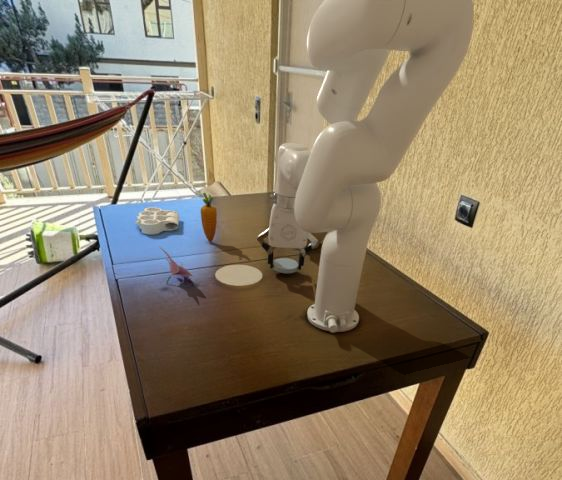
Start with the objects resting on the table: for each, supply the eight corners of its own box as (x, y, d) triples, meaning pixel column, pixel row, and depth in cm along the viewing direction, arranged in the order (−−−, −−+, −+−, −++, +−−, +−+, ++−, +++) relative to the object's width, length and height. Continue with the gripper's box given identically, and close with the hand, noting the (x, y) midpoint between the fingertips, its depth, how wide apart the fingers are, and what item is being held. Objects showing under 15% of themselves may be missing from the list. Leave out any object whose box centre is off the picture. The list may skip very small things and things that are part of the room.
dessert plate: (261, 290, 104) (261, 286, 103) (212, 288, 104) (212, 284, 103) (262, 269, 114) (263, 265, 113) (218, 267, 114) (217, 263, 113)
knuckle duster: (178, 234, 131) (132, 235, 129) (179, 216, 145) (138, 216, 142) (177, 224, 129) (130, 224, 126) (178, 207, 142) (136, 207, 140)
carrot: (219, 244, 127) (217, 195, 117) (204, 246, 125) (201, 196, 115) (216, 238, 130) (213, 190, 120) (201, 240, 128) (197, 191, 119)
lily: (194, 301, 100) (205, 265, 97) (147, 286, 95) (158, 247, 93) (190, 293, 110) (200, 260, 108) (147, 279, 106) (157, 244, 103)
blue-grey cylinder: (298, 275, 107) (299, 270, 106) (272, 273, 107) (272, 268, 106) (297, 264, 113) (298, 258, 112) (272, 262, 112) (272, 257, 111)
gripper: (255, 203, 94) (253, 271, 106) (326, 207, 95) (317, 275, 107) (256, 194, 100) (254, 259, 112) (323, 198, 101) (315, 263, 113)
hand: (285, 266), depth 109 cm, fingers closed on blue-grey cylinder, 7 cm apart
